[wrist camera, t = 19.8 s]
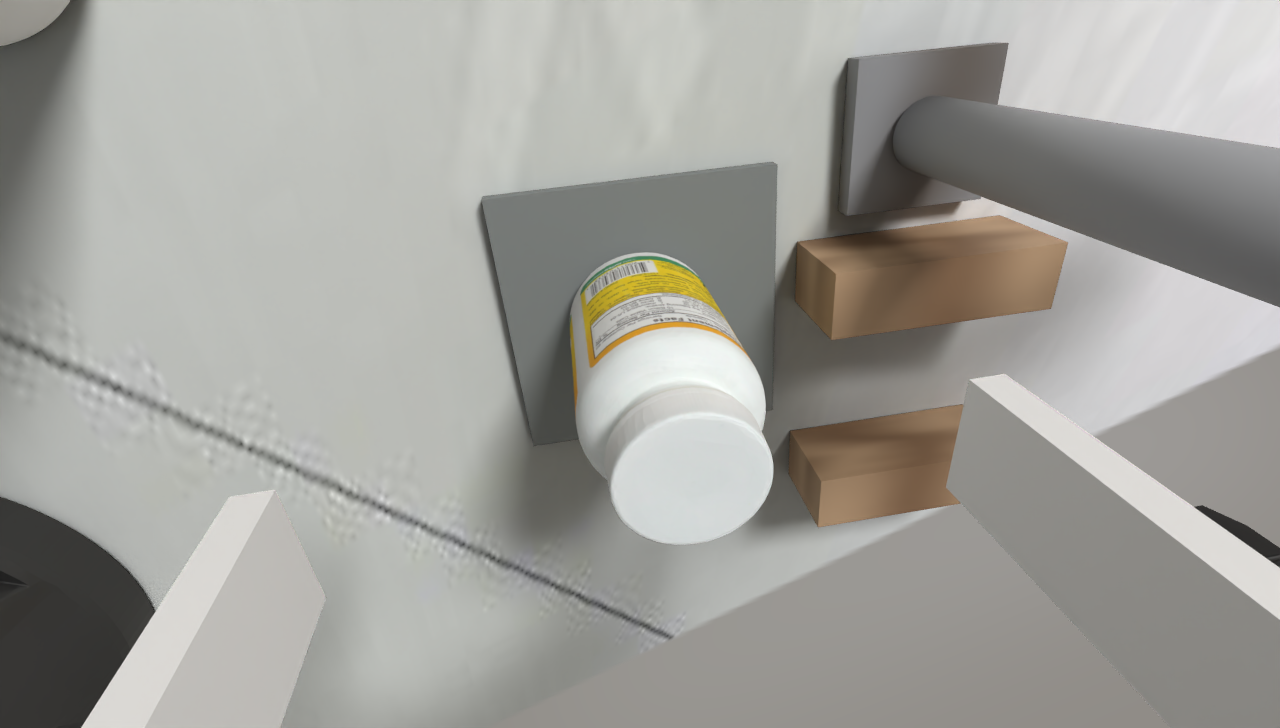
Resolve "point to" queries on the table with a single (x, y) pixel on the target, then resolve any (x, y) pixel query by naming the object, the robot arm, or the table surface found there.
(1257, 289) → the grey orange l-shaped piece
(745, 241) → the mat
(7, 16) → the pill bottle
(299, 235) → the table surface
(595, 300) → the supplement bottle
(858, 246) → the wooden block set
